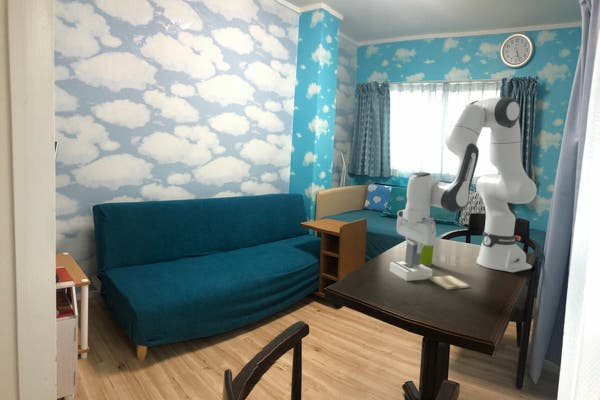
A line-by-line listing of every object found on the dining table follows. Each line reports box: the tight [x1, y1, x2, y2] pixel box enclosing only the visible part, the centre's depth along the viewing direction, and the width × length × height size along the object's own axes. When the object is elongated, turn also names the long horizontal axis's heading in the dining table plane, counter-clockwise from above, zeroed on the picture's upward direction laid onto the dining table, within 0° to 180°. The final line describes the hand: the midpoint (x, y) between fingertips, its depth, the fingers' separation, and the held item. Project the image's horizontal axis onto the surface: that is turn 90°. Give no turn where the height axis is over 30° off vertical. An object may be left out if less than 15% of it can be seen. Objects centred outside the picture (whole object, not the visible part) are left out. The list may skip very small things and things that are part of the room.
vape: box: [420, 217, 436, 267], centre depth 160 cm, size 4×6×20 cm, turn 49°
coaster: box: [428, 275, 471, 290], centre depth 139 cm, size 10×10×1 cm
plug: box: [404, 240, 421, 266], centre depth 145 cm, size 4×4×9 cm
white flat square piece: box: [389, 260, 433, 282], centre depth 146 cm, size 11×11×4 cm
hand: (413, 250), depth 145 cm, fingers closed on plug, 4 cm apart
